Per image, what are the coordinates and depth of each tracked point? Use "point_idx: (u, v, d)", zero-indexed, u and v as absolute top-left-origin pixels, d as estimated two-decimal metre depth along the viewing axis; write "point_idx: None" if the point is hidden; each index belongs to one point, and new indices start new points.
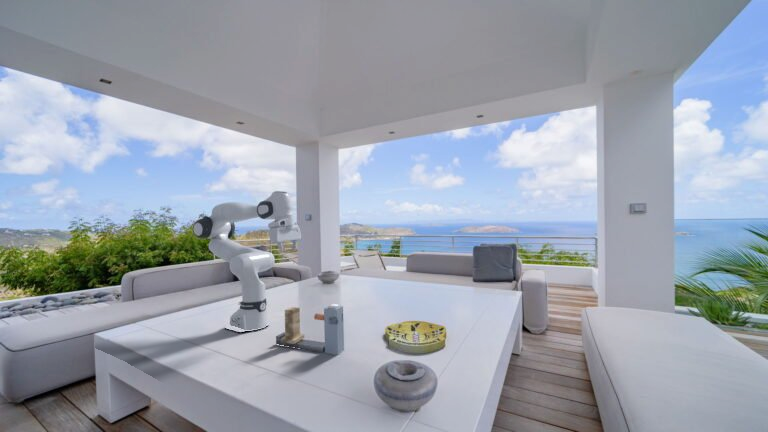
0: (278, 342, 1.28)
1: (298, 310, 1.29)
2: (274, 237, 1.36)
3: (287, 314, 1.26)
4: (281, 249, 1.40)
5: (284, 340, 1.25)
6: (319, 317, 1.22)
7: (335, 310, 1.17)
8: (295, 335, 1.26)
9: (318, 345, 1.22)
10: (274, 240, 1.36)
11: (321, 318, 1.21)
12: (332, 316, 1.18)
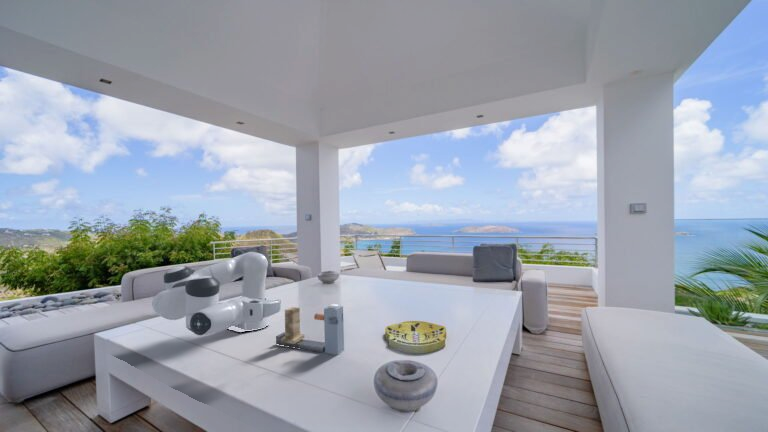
0: (278, 342, 1.28)
1: (298, 310, 1.29)
2: (276, 305, 1.06)
3: (287, 314, 1.26)
4: None
5: (284, 340, 1.25)
6: (319, 317, 1.22)
7: (335, 310, 1.17)
8: (295, 335, 1.26)
9: (318, 345, 1.22)
10: (279, 304, 1.08)
11: (321, 318, 1.21)
12: (332, 316, 1.18)
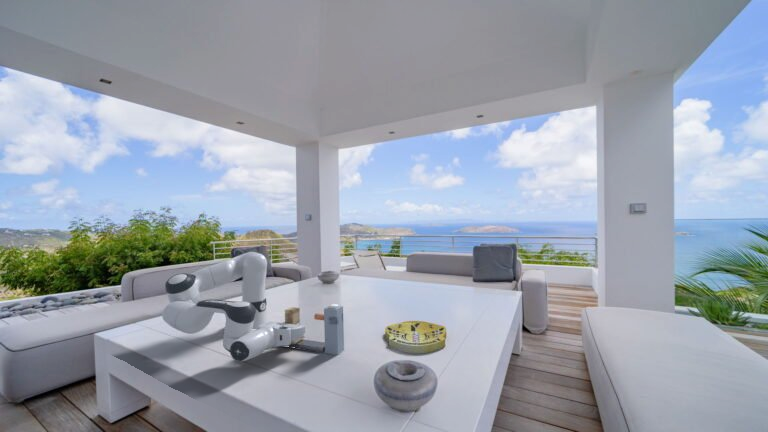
0: None
1: (298, 310, 1.29)
2: (302, 330, 1.19)
3: (287, 314, 1.26)
4: (298, 324, 1.27)
5: None
6: (319, 317, 1.22)
7: (335, 310, 1.17)
8: None
9: (318, 345, 1.22)
10: (304, 328, 1.20)
11: (321, 318, 1.21)
12: (332, 316, 1.18)
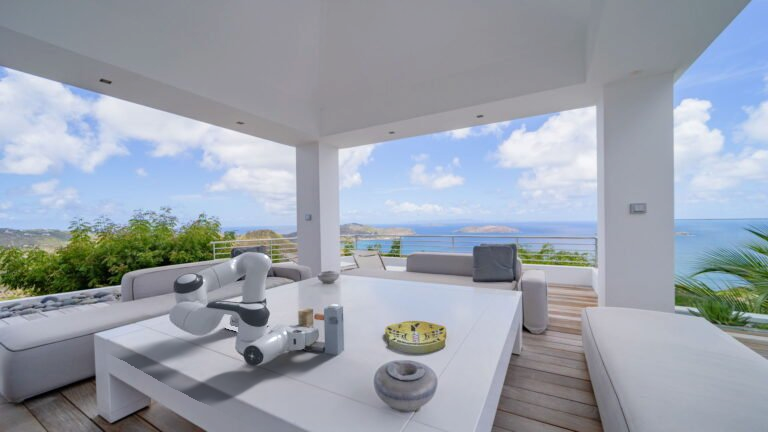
0: None
1: (312, 311, 1.26)
2: (316, 333, 1.15)
3: (301, 316, 1.24)
4: (311, 327, 1.23)
5: None
6: (319, 317, 1.22)
7: (335, 310, 1.17)
8: None
9: (318, 345, 1.22)
10: (318, 332, 1.16)
11: (321, 318, 1.21)
12: (332, 316, 1.18)
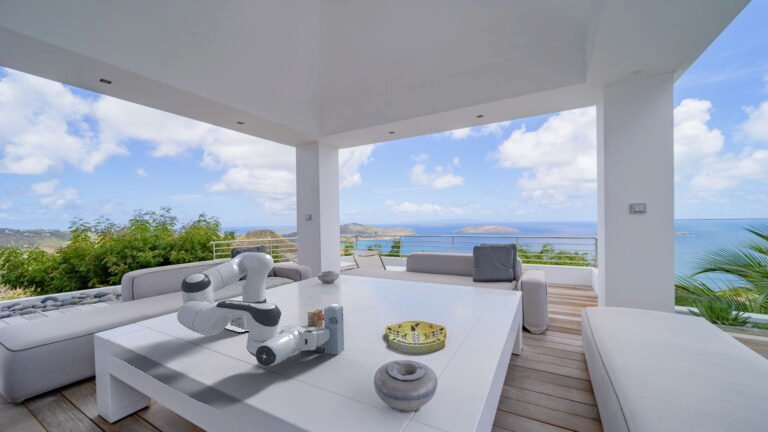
0: None
1: (321, 312, 1.24)
2: (327, 333, 1.14)
3: (310, 317, 1.22)
4: (322, 328, 1.22)
5: None
6: (323, 317, 1.21)
7: (335, 310, 1.17)
8: None
9: None
10: (329, 332, 1.15)
11: None
12: (332, 316, 1.18)
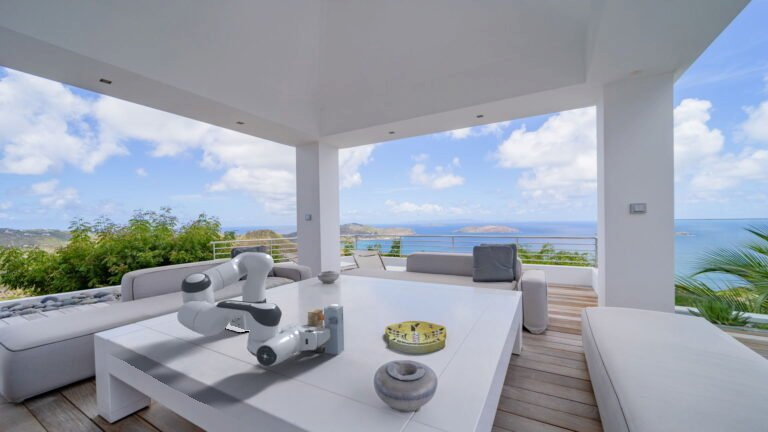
0: None
1: (321, 312, 1.24)
2: (327, 333, 1.14)
3: (310, 317, 1.22)
4: None
5: None
6: (323, 317, 1.21)
7: (335, 310, 1.17)
8: None
9: None
10: (329, 332, 1.15)
11: None
12: (332, 316, 1.18)
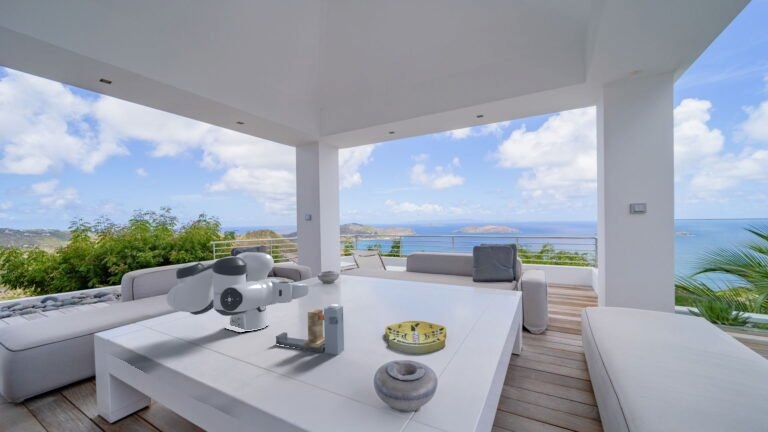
0: (278, 342, 1.28)
1: (321, 312, 1.24)
2: (305, 288, 1.03)
3: (310, 317, 1.22)
4: None
5: (307, 343, 1.21)
6: (323, 317, 1.21)
7: (335, 310, 1.17)
8: (318, 338, 1.22)
9: None
10: (307, 287, 1.04)
11: None
12: (332, 316, 1.18)
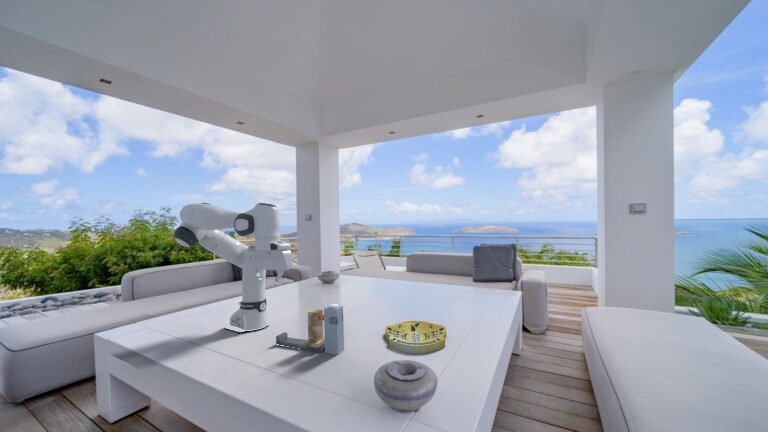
0: (278, 342, 1.28)
1: (321, 312, 1.24)
2: (290, 262, 1.09)
3: (310, 317, 1.22)
4: (280, 278, 1.10)
5: (307, 343, 1.21)
6: (323, 317, 1.21)
7: (335, 310, 1.17)
8: (318, 338, 1.22)
9: None
10: (290, 266, 1.09)
11: None
12: (332, 316, 1.18)
